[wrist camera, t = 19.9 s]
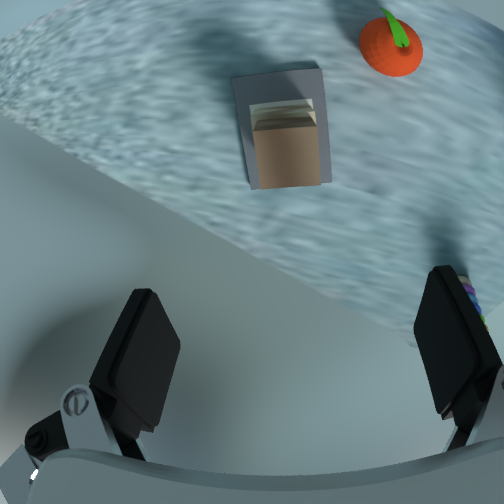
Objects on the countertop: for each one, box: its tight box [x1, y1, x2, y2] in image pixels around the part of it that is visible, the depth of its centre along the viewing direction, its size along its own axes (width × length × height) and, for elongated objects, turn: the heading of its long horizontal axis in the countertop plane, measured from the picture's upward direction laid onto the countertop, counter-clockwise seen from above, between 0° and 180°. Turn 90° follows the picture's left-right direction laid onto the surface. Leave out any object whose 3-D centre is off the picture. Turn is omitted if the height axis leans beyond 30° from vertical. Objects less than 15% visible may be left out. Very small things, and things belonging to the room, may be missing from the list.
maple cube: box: [251, 104, 316, 130], centre depth 29 cm, size 6×6×6 cm
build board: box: [231, 68, 332, 190], centre depth 32 cm, size 10×14×1 cm
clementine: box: [359, 8, 423, 77], centre depth 22 cm, size 8×7×7 cm
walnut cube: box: [253, 116, 321, 189], centre depth 25 cm, size 5×5×5 cm
